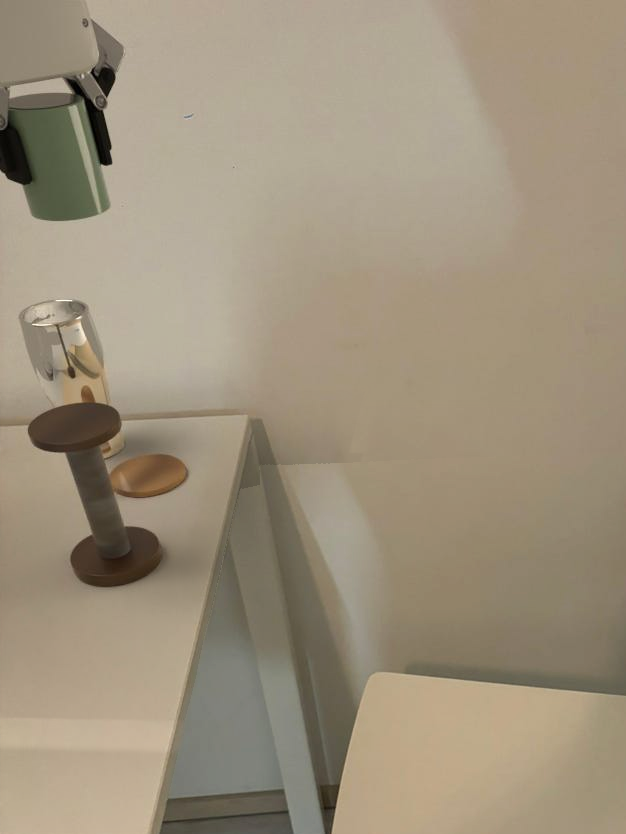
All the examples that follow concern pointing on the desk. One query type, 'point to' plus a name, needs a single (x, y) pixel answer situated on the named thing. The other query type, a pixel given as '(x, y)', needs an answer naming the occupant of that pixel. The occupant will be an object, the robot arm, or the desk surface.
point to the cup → (59, 156)
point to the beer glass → (68, 356)
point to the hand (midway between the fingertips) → (60, 169)
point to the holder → (96, 494)
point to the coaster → (147, 475)
